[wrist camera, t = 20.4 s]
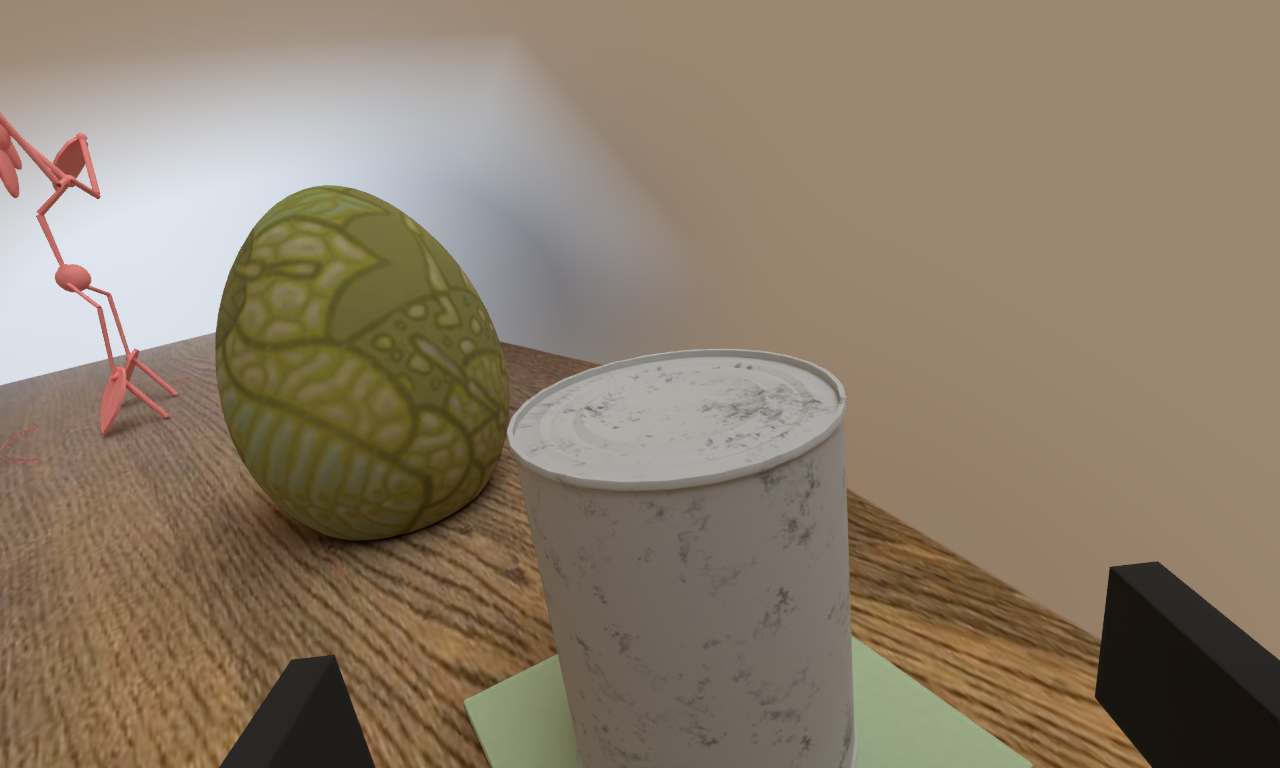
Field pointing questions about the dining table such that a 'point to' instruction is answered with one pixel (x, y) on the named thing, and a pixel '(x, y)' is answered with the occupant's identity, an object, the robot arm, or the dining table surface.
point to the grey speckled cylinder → (696, 558)
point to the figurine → (74, 278)
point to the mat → (883, 711)
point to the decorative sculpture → (358, 367)
